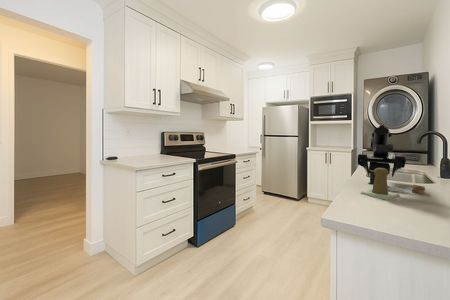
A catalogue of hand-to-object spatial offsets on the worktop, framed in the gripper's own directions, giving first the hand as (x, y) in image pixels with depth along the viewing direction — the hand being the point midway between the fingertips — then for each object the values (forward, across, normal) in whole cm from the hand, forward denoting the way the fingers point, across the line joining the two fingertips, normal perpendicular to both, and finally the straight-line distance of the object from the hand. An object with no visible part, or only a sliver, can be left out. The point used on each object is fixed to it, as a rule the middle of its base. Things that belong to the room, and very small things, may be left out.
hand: (380, 175), depth 103 cm
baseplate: (+9, 0, +2) cm, 9 cm away
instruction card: (-2, +9, +14) cm, 16 cm away
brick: (0, +15, +12) cm, 19 cm away
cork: (+8, 0, +2) cm, 9 cm away
